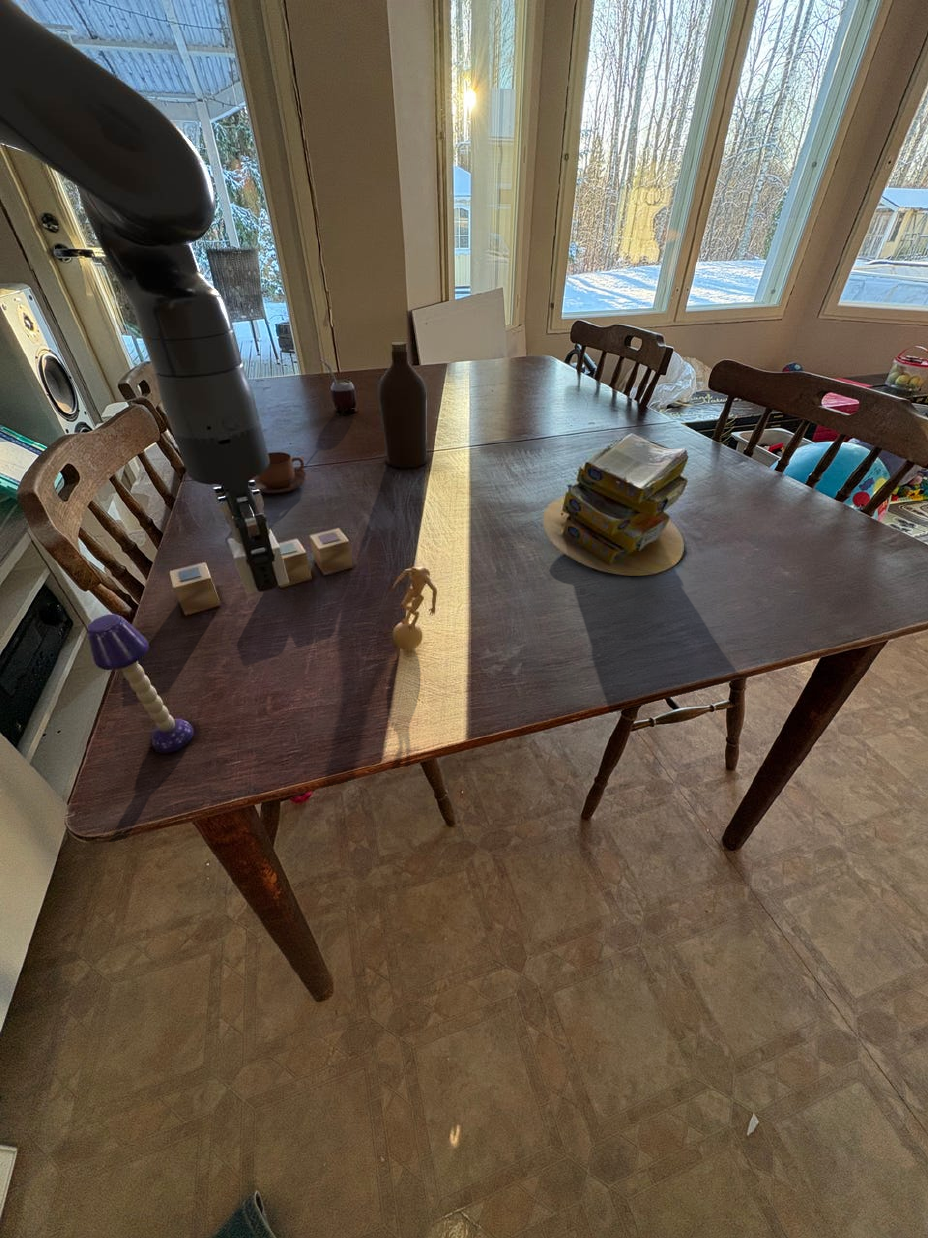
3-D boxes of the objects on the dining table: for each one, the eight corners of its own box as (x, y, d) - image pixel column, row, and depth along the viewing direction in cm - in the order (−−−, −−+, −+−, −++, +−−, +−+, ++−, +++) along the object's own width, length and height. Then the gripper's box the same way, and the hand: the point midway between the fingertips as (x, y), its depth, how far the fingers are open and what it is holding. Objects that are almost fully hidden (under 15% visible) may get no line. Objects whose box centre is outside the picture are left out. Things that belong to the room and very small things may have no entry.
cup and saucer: (283, 471, 117) (276, 444, 113) (319, 483, 111) (314, 455, 108) (238, 489, 109) (230, 461, 105) (275, 503, 104) (268, 474, 100)
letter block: (246, 595, 55) (234, 557, 52) (238, 574, 58) (226, 537, 55) (289, 583, 57) (279, 546, 54) (279, 563, 60) (270, 527, 57)
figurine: (378, 638, 71) (368, 565, 63) (413, 620, 74) (407, 548, 66) (416, 669, 66) (409, 593, 59) (451, 648, 69) (449, 574, 62)
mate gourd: (360, 408, 154) (353, 353, 144) (352, 416, 148) (345, 359, 138) (336, 407, 154) (328, 352, 145) (328, 415, 148) (318, 358, 139)
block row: (185, 615, 75) (172, 587, 72) (181, 598, 78) (169, 570, 75) (353, 567, 85) (349, 540, 82) (343, 553, 88) (338, 527, 85)
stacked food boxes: (713, 550, 89) (746, 456, 78) (608, 594, 79) (629, 492, 68) (612, 497, 105) (628, 413, 95) (514, 527, 95) (520, 438, 85)
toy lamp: (143, 758, 55) (68, 642, 45) (152, 726, 59) (84, 611, 48) (191, 748, 56) (128, 633, 46) (196, 717, 60) (139, 603, 49)
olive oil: (396, 473, 115) (385, 350, 100) (377, 458, 123) (364, 341, 107) (437, 463, 120) (433, 344, 104) (417, 449, 127) (410, 336, 111)
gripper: (164, 406, 50) (218, 556, 61) (178, 454, 40) (239, 622, 51) (243, 395, 53) (281, 540, 64) (275, 437, 43) (313, 600, 54)
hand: (262, 576), depth 57 cm, fingers closed on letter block, 4 cm apart
